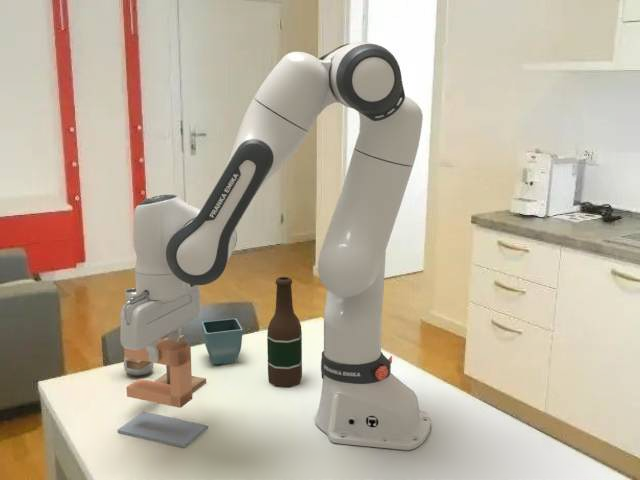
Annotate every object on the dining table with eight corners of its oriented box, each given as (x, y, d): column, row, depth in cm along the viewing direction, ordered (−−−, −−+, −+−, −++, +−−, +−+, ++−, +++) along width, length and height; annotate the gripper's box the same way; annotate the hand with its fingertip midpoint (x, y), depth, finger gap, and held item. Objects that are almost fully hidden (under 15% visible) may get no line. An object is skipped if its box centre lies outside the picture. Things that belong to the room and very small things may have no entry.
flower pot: (202, 355, 161) (200, 321, 159) (237, 351, 164) (236, 317, 162) (207, 369, 153) (205, 333, 151) (244, 365, 156) (243, 329, 154)
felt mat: (207, 427, 126) (207, 425, 126) (184, 448, 119) (184, 445, 119) (143, 414, 132) (143, 411, 132) (117, 432, 124) (117, 429, 124)
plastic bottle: (150, 379, 148) (144, 295, 143) (120, 379, 148) (114, 294, 143) (157, 367, 154) (152, 286, 150) (129, 367, 154) (123, 286, 150)
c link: (192, 398, 124) (190, 344, 121) (180, 408, 120) (178, 351, 117) (139, 387, 128) (137, 335, 125) (126, 396, 124) (123, 342, 122)
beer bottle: (280, 370, 152) (279, 271, 147) (308, 378, 148) (308, 276, 143) (261, 383, 146) (258, 279, 141) (290, 391, 142) (288, 285, 137)
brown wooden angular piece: (206, 382, 146) (204, 333, 144) (156, 419, 129) (153, 365, 127) (168, 375, 150) (166, 327, 147) (115, 411, 133) (111, 357, 130)
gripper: (139, 302, 108) (143, 380, 111) (205, 272, 126) (207, 339, 129) (108, 298, 110) (113, 374, 113) (177, 269, 129) (180, 335, 132)
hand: (164, 355), depth 121 cm, fingers closed on c link, 4 cm apart
